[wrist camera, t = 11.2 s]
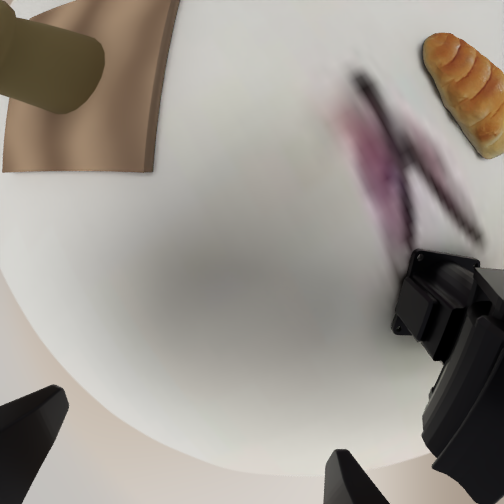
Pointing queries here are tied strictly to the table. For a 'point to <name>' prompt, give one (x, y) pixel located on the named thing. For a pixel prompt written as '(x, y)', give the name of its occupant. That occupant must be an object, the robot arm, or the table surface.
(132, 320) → the table surface
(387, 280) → the table surface
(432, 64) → the pastry
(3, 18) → the olive rounded upright piece
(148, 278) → the table surface
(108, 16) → the walnut board
